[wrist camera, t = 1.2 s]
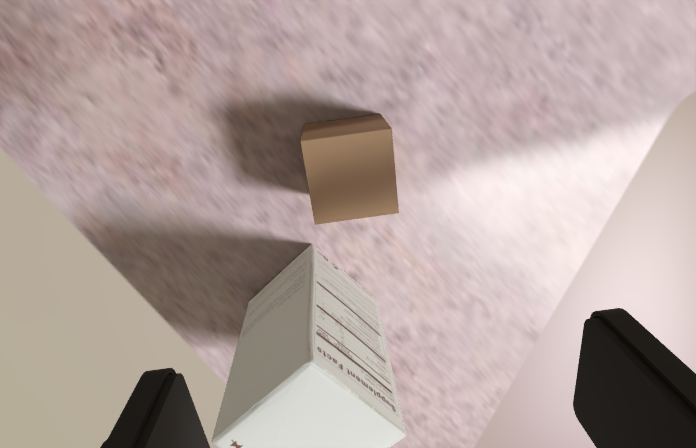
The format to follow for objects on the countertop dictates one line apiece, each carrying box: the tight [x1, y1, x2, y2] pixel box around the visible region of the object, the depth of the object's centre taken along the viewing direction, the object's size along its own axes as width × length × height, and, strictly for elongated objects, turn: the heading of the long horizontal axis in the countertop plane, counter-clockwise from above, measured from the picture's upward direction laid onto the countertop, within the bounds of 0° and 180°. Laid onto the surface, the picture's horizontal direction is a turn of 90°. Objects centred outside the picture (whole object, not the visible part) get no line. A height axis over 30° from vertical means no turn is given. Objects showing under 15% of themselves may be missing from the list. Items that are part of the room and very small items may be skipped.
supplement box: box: [212, 245, 406, 448], centre depth 27 cm, size 7×7×13 cm
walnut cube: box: [300, 114, 399, 224], centre depth 26 cm, size 5×5×5 cm
